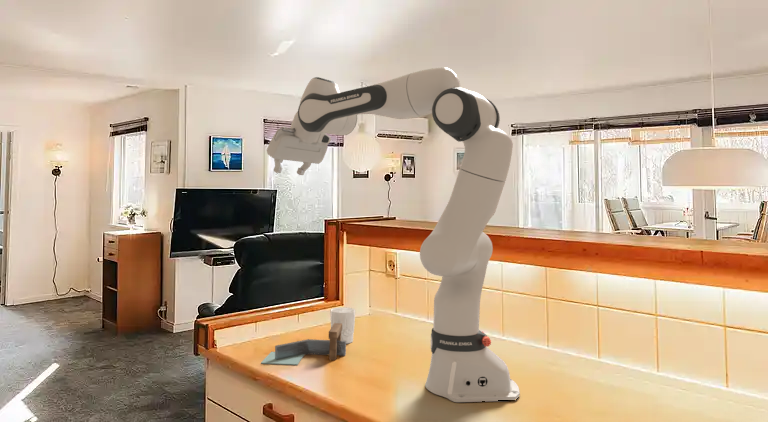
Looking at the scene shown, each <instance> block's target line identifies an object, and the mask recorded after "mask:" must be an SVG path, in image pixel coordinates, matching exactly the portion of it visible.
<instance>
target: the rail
mask: <svg viewBox="0 0 768 422" xmlns="http://www.w3.org/2000/svg"><path fill="white" fill-rule="evenodd" d="M329 348H330V339H309V338H308V339H303V340H302V339H301V340H298V341H292V342H287V343H282V344H277V345H275V346H274V352H275V359H276V360H279V359H284V358H288V357H293V356H298V355H302V354H305V355H304V356H306V355H317V356H321V355H322V356H329ZM346 352H347V344H346V341H338V340H337V354H336V356H342V357H343V356H344V357H346V356H347V355H346V354H347V353H346Z"/></svg>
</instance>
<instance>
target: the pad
mask: <svg viewBox="0 0 768 422" xmlns="http://www.w3.org/2000/svg"><path fill="white" fill-rule="evenodd" d="M304 356H306V355H305V354H302V355H298V356H293V357H288V358H284V359H279V360H276V359H275V351H271V352H269V354H268V355H267V356H266V357H265V358H264V359H263V360H262V361H261V362H260V365H262V364H263V365H277V366H278V365H282V366H284V365H285V366H298V365H299V363H301V361H302V360H303V358H304Z"/></svg>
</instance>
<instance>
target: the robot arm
mask: <svg viewBox="0 0 768 422" xmlns="http://www.w3.org/2000/svg"><path fill="white" fill-rule="evenodd" d="M302 93H303V94H302V96H301V98H300V101H299V106H298V109H297V111H296V112H295V114H294V116H293V119H292V122H291V125H290V127H287V126H281V127H280V128H278V129H276V131H275V133H274V135H273V136H272V137H271V140H270V142H269V143H268V146H267V148H266V154H267V155H268V157H271V158H272V159H273V161H274V167H273V172H274V173H275V174H281V173H282V170H283V167H282V166H281V163H283V161H289V162H290V161H291V162H297V163H298V162H300V163H302V165H301V166H300V167H298V168H297V170H296V174H297V175H298V176H304V175H305V172H306V171H307V170H308V169H309V168H310V167H311V165H312V164H316V165H319V164H320V163H322V161H323V160H324V158H325V156H326V153H327V150H328V144H330V143H331V142H332V137H331V136H330V135H335V136H348V135H349V134H350V133H352V132H353V131H354V129H355V128H356V125H357V122H358V115H375V116H380V117H381V116H382V117H386V118H389V119H390V118H391V119H395V120H409V119H416V118H421V117H424V116H428V115H432V119H433V121H434V123H435V124H436V126H437V127H438V128H439V129H440V130H442V131H443V132H444V133H445V134H447V135H448V136H450V137H451V138H452V139H454V140H456V141H457V142H458V143H459V142H462V143H463V147H464V152H463V157H462V160H461V164H460V167H459V170H458V174H457V176H456V179H455V183H454V185H453V189H452V192H451V195H450V197H449V200H448V202H447V204H446V205H445V208H444V210H443V212H442V213H441V216H440V217H439V218H438V221H437V223H436V225H435V226H434V228H433V230H432V231H431V232H430V234H429V235H428V236H427V237H426V238H425V239H424V240H423V241H422V243H421V246H420V248H419V249H420V250H419V258H420V261H421V264H422V266H423V267H424V269H425V270H426V271H427V272H429V273H430V274H431V275H434V276H439V277H442V278H441V281H440V284H439V286H438V289H437V291H436V293H435V295H434V299H433V325H432V326H433V327H432V329H431V333H430V352H431V358H430V365H429V369H428V373H427V378H426V381H425V384H424V386H425V388H426V390H428V391H429V392H431V393H432V394H434V395H437V396H440V397H442V398H443V397H444V398H446V399H447V400H449V401H451V402H453V403H473V402H474V403H476V402H477V403H481V402H482V401H485V402H499V401H498V400H515V399H517V398H518V397H519V398H520V396H519V395H521V394H520V388H519V385H518V384H517V383H516V381H514V380H513V379H512V378H511V375H510V370H509V368H508V365H507V364H506V362H505V361H504V359H502V358H501V357H500V356H499V355H497V354H496V353H495V352H494V351H492V350H491V349H490V348H489V347H490V345H492V340H491V338H490V337H489V336H488V335H487V334H486V333H485V331H482V330H480V313H481V311H480V309H481V307H480V306H481V297H482V291H483V286H484V282H485V277H486V274H487V273H486V272H487V268H488V264H489V261H490V259H491V257H492V255H493V250H494V248H493V242H492V240H491V238H490V237H489V235H487V234H486V233H485V232H483V231H484V230H485V229H486V226H487V224H488V223H489V222H490V220H491V219H492V218H493V216H494V215H495V213H496V210H497V208H498V205H499V202H500V198H501V195H502V192H503V190H504V187H505V183H506V181H507V178H508V173H509V169H510V166H511V160H512V155H513V144H514V143H513V140H512V138H511V137H510V135H509V134H508V133H506V132H505V131H503V130H501V129H500V128H499V125H500V121H501V120H500V119H501V118H500V112H499V110H498V108H497V107H496V105H495V104H494V103H493V102H492V101H491V100H490V99H488V98H486V97H484V96H483V95H481V94H480V93H478V92H476V91H473V90H468V89H466V88H464V87H462V86H461V83H460V79H459V77H458V75H457V74H456V72H455V71H454V70H452V69H451V68H449V67H434V68H427V69H421V70H419V71H415V72H414V71H413V72H411V73H407V74H405V75H402V76H398V77H395V78H392V79H389V80H386V81H382V82H378V83H374V84H372V85H368V86H362V87H359V88H354V89H350V90H346V91H342V92H341V91H340V88H339V85H338V83H336V82H335V81H333V80H329V79H325V78H322V77H318V76H316V77H313V78H311V79H310V81H309V82H308V83H307V84H306V87H305V88H304V91H303V92H302ZM519 398H518V399H519ZM518 399H517V400H518ZM515 401H516V400H515Z"/></svg>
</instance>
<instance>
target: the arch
mask: <svg viewBox="0 0 768 422" xmlns="http://www.w3.org/2000/svg"><path fill="white" fill-rule="evenodd" d="M341 331H342V323H334V324H333V326H332V327H331V326H330V329H329V330H328V340H330V348H329V355H328V356H329V358H328V359H329V361H336V360H337V355H336V354H337V340H338V341H341Z"/></svg>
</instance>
